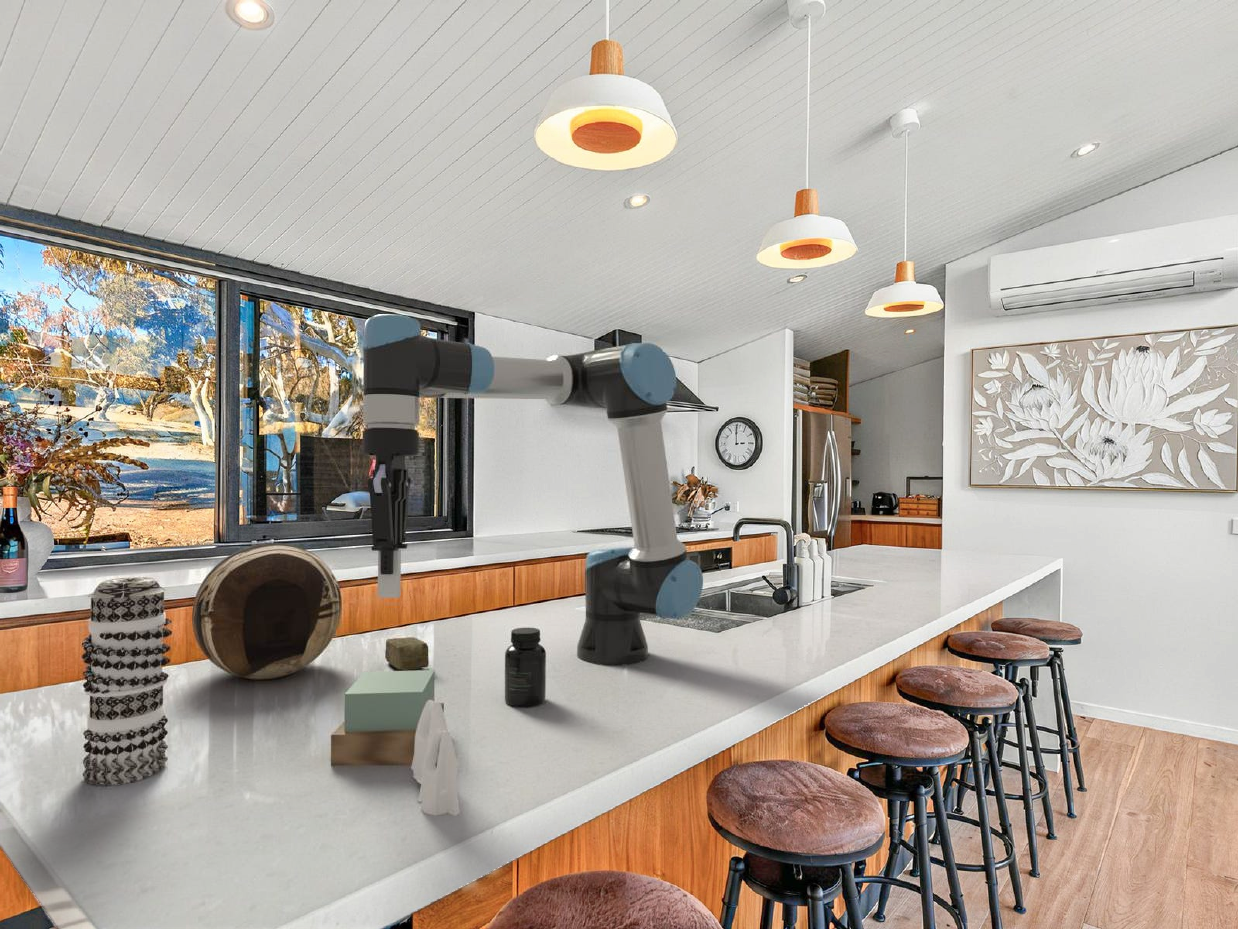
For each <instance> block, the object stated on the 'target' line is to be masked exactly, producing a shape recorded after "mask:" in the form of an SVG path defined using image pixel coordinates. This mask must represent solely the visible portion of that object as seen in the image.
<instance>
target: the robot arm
mask: <svg viewBox="0 0 1238 929" xmlns="http://www.w3.org/2000/svg"><path fill="white" fill-rule="evenodd" d="M364 323H365V324H364V332H363V344H362V348H361V350H362V351H363V352H362V354H363V379H362V380H363V386H362V387H363V389H362V392H363V395H362V396H363V398H362V399H363V400H362V403H360V404H359V409H360V410H361V411H362V416H363V417H362V423H363V424H364V425H365V426H367V428H364V429H363V430H362V435H361V436H362V441H361V442H362V443H361V444H362V448H361V449H362V450H361V451H362V454H363V455H364V456H369V457H371V456H372V457H375V464H374V469H372V474H371V476H372V477H368V478H367V482H366V483H367V488H368V493H369V500H370V516H371V517H370V518H371V533H372V534H371V535H372V546H371V551H372V552H373V551H375V552H376V551H377V552H378V554H377V555H378V556H377V557H378V558H377V560H378V561H377V598H378V599H382V598H384V599H398V598H399V597H401V582H402V581H401V575H402V574H401V573H402V550H404V549H407V548H408V543H405V542H406V539H407V538H406V536H407V534H406V533H407V522H408V521H407V520H408V511H409V510H408V508H409V494H410V493H409V492H410V488H411V483H412V478H411V477H410V476H409V470H408V469H406V459H405V458H406V457H416V456H418V455H419V452H420V432H419V431H418V429H416V427H419V425H420V399H423V398H424V399H437V398H438V399H439V398H440V399H441V398H443V399H444V398H446V399H447V398H448V399H498V400H499V399H503V400H504V399H507V400H511V399H512V400H515V399H517V400H545V401H546V402H548V403H549V404H552V405H563V406H574V407H582V408H583V407H584V408H590V409H591V408H593V409H606V417H607V420H608V421H609V422H611V423H612V424H613V425H615V427H616V429H617V434H618V435H617V436H618V443H619V448H620V449H619V450H620V456H621V464H622V469H623V476H624V477H623V478H624V482H625V490H626V496H627V503H628V509H629V510H628V511H629V515H630V516H629V517H630V523H631V530H632V537H633V543H634V545H633V546H628V547H616V548H607V549H606V548H605V549H595V550H591V551H590V552H588V553H587V555H586V561H585V563H586V564H585V569H584V573H585V574H584V576H585V577H584V578H585V580H584V581H585V584H584V585H585V586H584V587H585V590H584V591H585V621H584V624H583V627H582V630H581V633H580V636H579V638H578V641H577V642H578V643H577V650H576V652H577V653H576V657H577V658H578V659H579V660H581V661H583V662H586V663H588V664H589V663H590V664H594V665H600V664H602V665H603V666H624V665H623V664H627V665H633V663H634V664H638V663H641V662H643V661H645V660H647V659H648V656H649V645H648V642H647V639H646V636H645V632H644V630H643V627H642V623H641V614H642V615H648V616H653V617H658V618H660V619H664V620H665V619H672V620H681V619H683V618H686V617H687V616H689V615H690V614H691V613H692V612H693V611H694V610H695V608H696V607H697V605H698V602H699V600H700V599H701V596H702V592H703V586H704V578H703V576H704V575H703V572H702V569H701V567H700V565H699V564H698V563H696V562H694V561H693V560H691V559H689V557H688V552H687V546H686V544H684V543H683V542H681V541H680V540H679V539H678V534H677V528H676V520H675V513H674V506H673V499H672V491H671V483H670V476H669V470H668V462H667V455H666V454H667V453H666V448H665V447H666V446H665V440H664V432H663V426H662V420H663V418H664V417H665V415H666V413H668V404H667V403H668V402H669V401H670V400H672V398H673V396H674V394H675V389H676V387H677V374H676V370H675V367H674V364H673V362H672V360H671V358H670V356H669V355H668V354H667V352H665V351H663V348H662V347H660V346H658V345H657V344H654V343H650V342H640V343H639V342H638V343H635V342H632V343H629V344H624V345H619V346H611V347H607V348H601V349H595V350H590V351H586V352H581V353H577V354H571V355H570V354H569V355H551V356H549V357H548V358H547V359H537V358H535V359H534V358H521V357H504V356H492V353H491V352H490V350H489V349H487V348H485V346H484V347H483V346H480V345H476V344H473V343H471V342H467V343H465V342H458V341H452V340H447V339H439V338H433V337H428V336H425V335H422V330H421V323H420V321H419V320H418V319H416V318H414V317H411V316H407V315H404V314H403V315H402V314H390V313H389V314H387V313H386V314H384V313H383V314H376V315H373V316H370V317H369V318H368V319H366V322H364ZM646 658H647V659H646ZM640 661H641V662H640ZM637 662H638V663H637Z"/></svg>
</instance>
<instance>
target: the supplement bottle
mask: <svg viewBox="0 0 1238 929" xmlns="http://www.w3.org/2000/svg"><path fill="white" fill-rule="evenodd" d="M510 635H511V636H510V643H512V644H510V646H508V647H507V648H506V650H505V652H504V702H505V704H506V705H507V706H510V707H513V708H521V709H522V708H524V709H527V708H534V707H537V706H541V705H542V704H543V703H544V702H545V700H546V691H547V690H546V689H547V688H546V687H547V685H546V684H547V683H546V681H547V679H546V678H547V676H546V675H547V672H546V671H547V670H546V669H547V666H546V664H547V653H546V649H545V647H544V646H543V645H542V644H540V642H541V630H540V629H539V628H536V627H517V628H514V629H511V632H510Z"/></svg>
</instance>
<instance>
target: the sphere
mask: <svg viewBox="0 0 1238 929" xmlns="http://www.w3.org/2000/svg"><path fill="white" fill-rule="evenodd" d="M342 599H343V598H342V593H341V588H340V585H339V583H338V580H337V578H336V577H335V575H334V573H333V571H332V570H331V569H330V567H329V565H327V564H326V563H325V562H324V561H323V560H322V559H321V558H320V557H319V556H317V555H316V554H314V553H313V552H312V551H309V550H308V549H305V548H302V547H301V546H297V545H294V544H289V543H282V542H268V543H266V542H265V543H260V544H255V545H251V546H248V547H244V548H242V549H239V550H237V551H235V552H233V553H231V554H230V555H228V556H227V557H225V558H224V559H222V560H221V561H220V562H218V563H217V564H216V565H215V566H214V567H213V568H212V569H211V570H210V571H209V573H208V574H207V575H206V576H205V578H204V579H203V581H202V582H201V584H200V586H199V588H198V589H197V592H196V594H195V598H194V601H193V605H192V612H191V621H192V623H191V624H192V629H193V634H194V637H195V640H196V643H197V645H198V646H199V649H200V650H201V651H202V653H203V654H204V656H205V657H206V658H207V659H208V660H209V661H210V662H211V663H212V664H214V665H215V666H216V667H217V668H219V669H220V670H223V671H224V672H225V673H227V674H230V675H233V676H236V677H239V678H242V679H248V680H261V681H262V680H273V679H278V678H282V677H285V676H288V675H291V674H294V673H296V672H297V671H300V670H302V669H304V668H305V667H307V666H308V665H309V664H311V663H313V662H314V661H315V660H316V659H317V658H319V656H320V655H322V653H323V652H324V651H325V650H326V649H327V647H328V646H329V645H330V643H331V642H332V640H333V639H334V636H335V634H336V633H337V631H338V628H339V624H340V620H341V618H342V610H343V609H342V608H343V603H342V602H343V600H342Z"/></svg>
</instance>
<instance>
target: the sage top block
mask: <svg viewBox="0 0 1238 929" xmlns="http://www.w3.org/2000/svg"><path fill="white" fill-rule="evenodd" d="M435 673H436V670H434V669H428V670H427V669H424V670H422V669H421V670H419V669H417V670H391V671H390V670H388V671H387V670H386V671H385V670H383V671H379V670H378V671H363V673H362V674H361V675H360V676H359V677H358V678H357V680H356V681H355V682H354V683H353V684H352V685H351V686H350V688H349V689H348V690H347V691H346V692H345V693H344V718H343V719H344V721H343V722H344V732H364V731H393V730H417V726H418V723H419V720H420V717H421V714H422V711H423V709H424V707H425V704H426V703H427V701H428V700H433V701H434V702H435Z"/></svg>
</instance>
